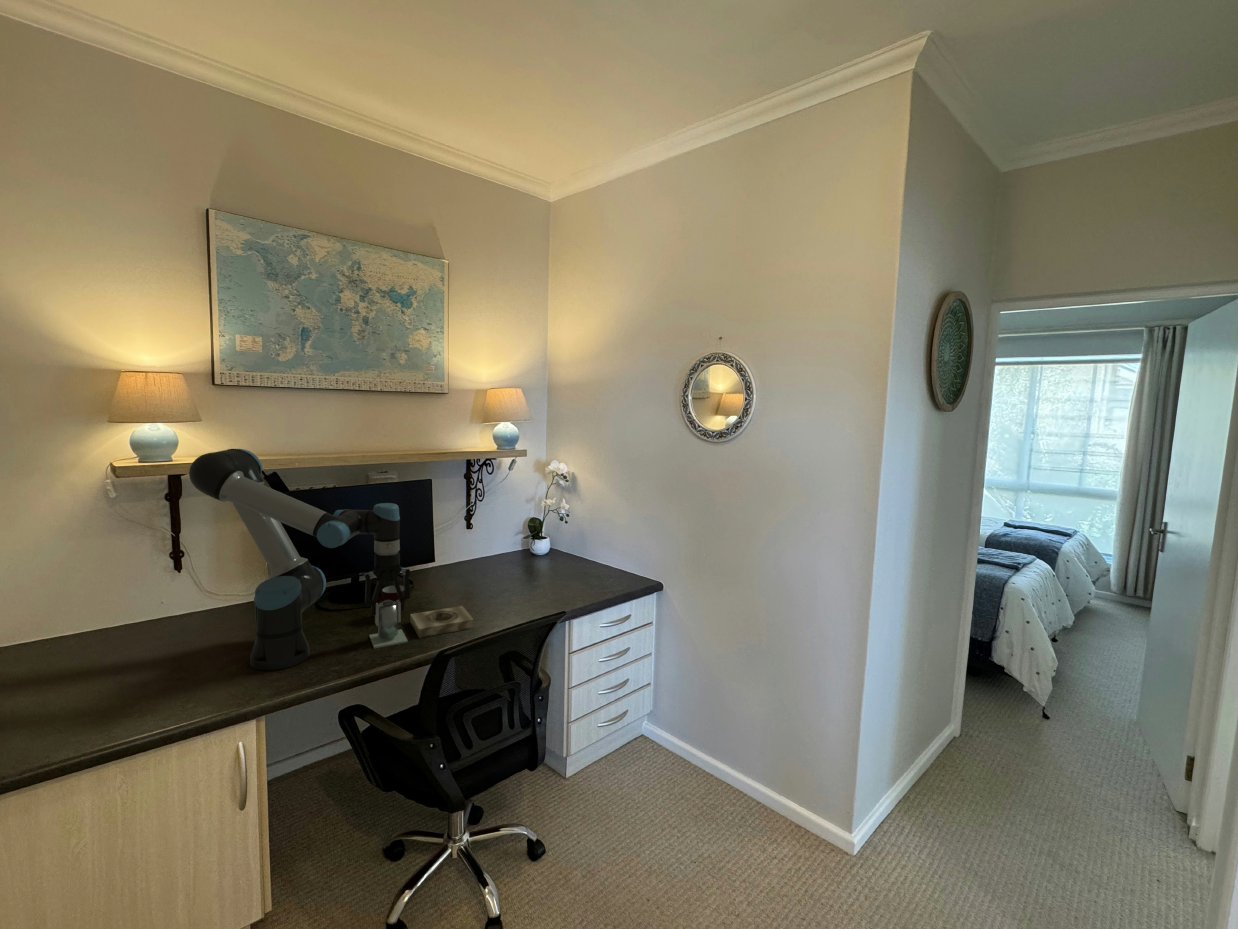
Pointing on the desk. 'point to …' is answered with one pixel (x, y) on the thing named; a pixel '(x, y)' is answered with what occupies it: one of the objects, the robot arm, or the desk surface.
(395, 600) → the mug
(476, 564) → the desk surface
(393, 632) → the gray knobbed peg
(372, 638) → the mat
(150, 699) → the desk surface
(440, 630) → the housing
